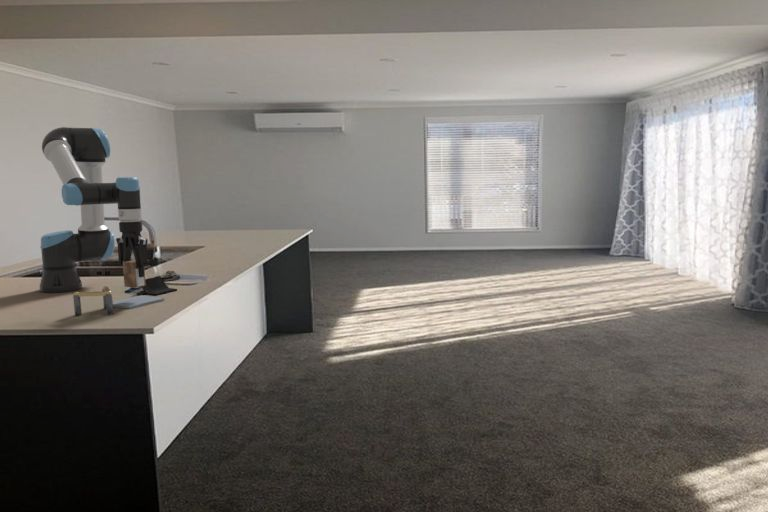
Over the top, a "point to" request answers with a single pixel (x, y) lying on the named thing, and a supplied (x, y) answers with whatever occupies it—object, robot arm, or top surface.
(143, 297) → the pad
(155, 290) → the handheld gaming console
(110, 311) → the grey and gold frame
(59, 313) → the top surface
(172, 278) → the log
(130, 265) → the walnut block
